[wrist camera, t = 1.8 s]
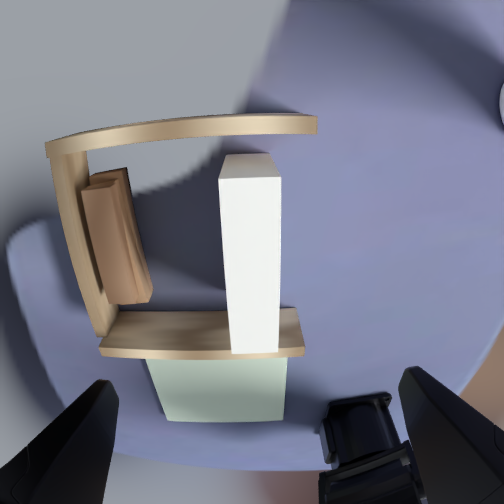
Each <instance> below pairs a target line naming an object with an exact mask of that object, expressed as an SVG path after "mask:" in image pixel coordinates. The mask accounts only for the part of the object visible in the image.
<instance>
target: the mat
mask: <svg viewBox="0 0 504 504" xmlns="http://www.w3.org/2000/svg"><path fill="white" fill-rule="evenodd" d="M287 358H288V357H283V358H264V359H236V360H167V359H146V362H147V365H148V368H149V371H150V374H151V377H152V380H153V383H154V385H155V388H156V391H157V394H158V396H159V399H160V402H161V405H162V407H163V410H164V412H165V415H166V417H167V420H168V421H183V422H259V421H277V420H283V414H284V401H285V387H286V373H287Z"/></svg>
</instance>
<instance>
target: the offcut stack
mask: <svg viewBox="0 0 504 504" xmlns="http://www.w3.org/2000/svg"><path fill="white" fill-rule="evenodd" d="M89 180H90V185H91V186H88V187H86V188H85V189H83V190H82V191H81V194H82V199H83V204H84V209H85V214H86V219H87V224H88V228H89V233H90V237H91V241H92V245H93V249H94V253H95V257H96V261H97V265H98V269H99V272H100V276H101V280H102V283H103V287H104V290H105V293H106V297H107V300H108V303H109V304H121V305H126V304H136V303H146V302H149V300H150V297H151V295H152V292H153V290H154V289H153V286H152V282H151V278H150V275H149V271H148V267H147V263H146V259H145V255H144V251H143V247H142V243H141V239H140V234H139V230H138V226H137V221H136V217H135V212H134V207H133V203H132V198H131V193H132V190H131V186H130V181H129V175H128V169H127V167H124V168H119V169H113V170H108V171H103V172H98V173H95V174H93V175H91V176H90V177H89Z"/></svg>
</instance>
